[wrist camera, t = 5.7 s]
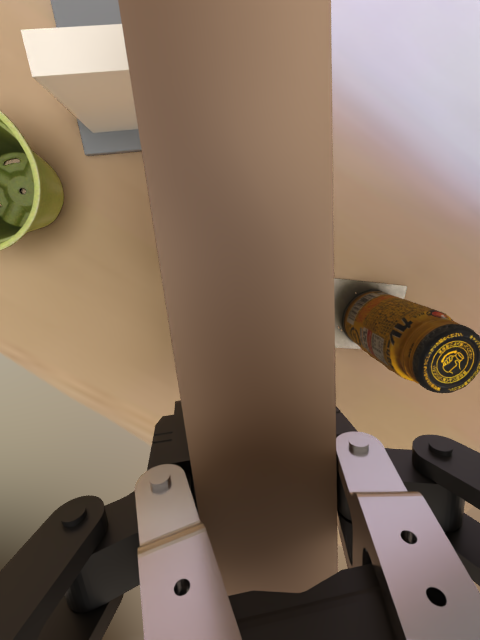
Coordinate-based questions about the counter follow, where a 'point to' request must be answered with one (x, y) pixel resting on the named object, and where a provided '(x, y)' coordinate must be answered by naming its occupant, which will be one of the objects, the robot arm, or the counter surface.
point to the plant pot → (32, 175)
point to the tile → (85, 73)
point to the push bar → (247, 268)
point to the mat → (88, 10)
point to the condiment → (405, 335)
